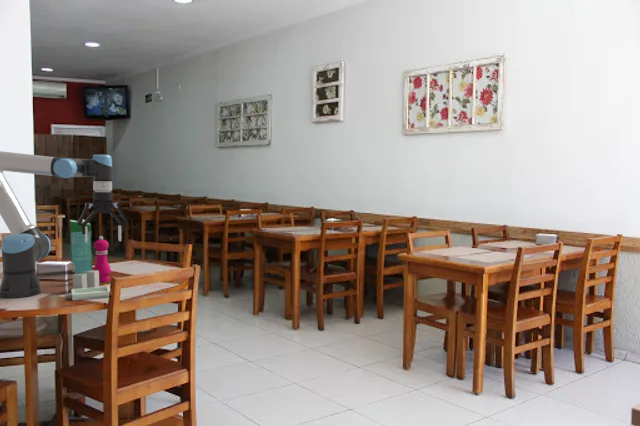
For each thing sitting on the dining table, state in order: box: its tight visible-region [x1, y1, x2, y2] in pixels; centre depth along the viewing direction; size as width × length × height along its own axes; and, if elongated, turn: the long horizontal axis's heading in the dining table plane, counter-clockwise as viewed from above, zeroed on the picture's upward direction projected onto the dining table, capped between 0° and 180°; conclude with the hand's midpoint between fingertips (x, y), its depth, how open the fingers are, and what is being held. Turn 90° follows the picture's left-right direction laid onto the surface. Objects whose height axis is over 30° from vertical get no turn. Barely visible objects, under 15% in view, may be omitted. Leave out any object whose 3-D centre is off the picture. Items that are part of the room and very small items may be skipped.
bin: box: [70, 285, 111, 301], centre depth 234 cm, size 14×11×2 cm
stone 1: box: [71, 273, 87, 289], centre depth 242 cm, size 4×4×7 cm
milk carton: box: [69, 219, 93, 274], centre depth 285 cm, size 9×9×25 cm
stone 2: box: [85, 269, 100, 288], centre depth 249 cm, size 4×4×7 cm
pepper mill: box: [93, 235, 112, 283], centre depth 262 cm, size 7×7×20 cm
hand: (103, 241), depth 252 cm, fingers open, 13 cm apart
